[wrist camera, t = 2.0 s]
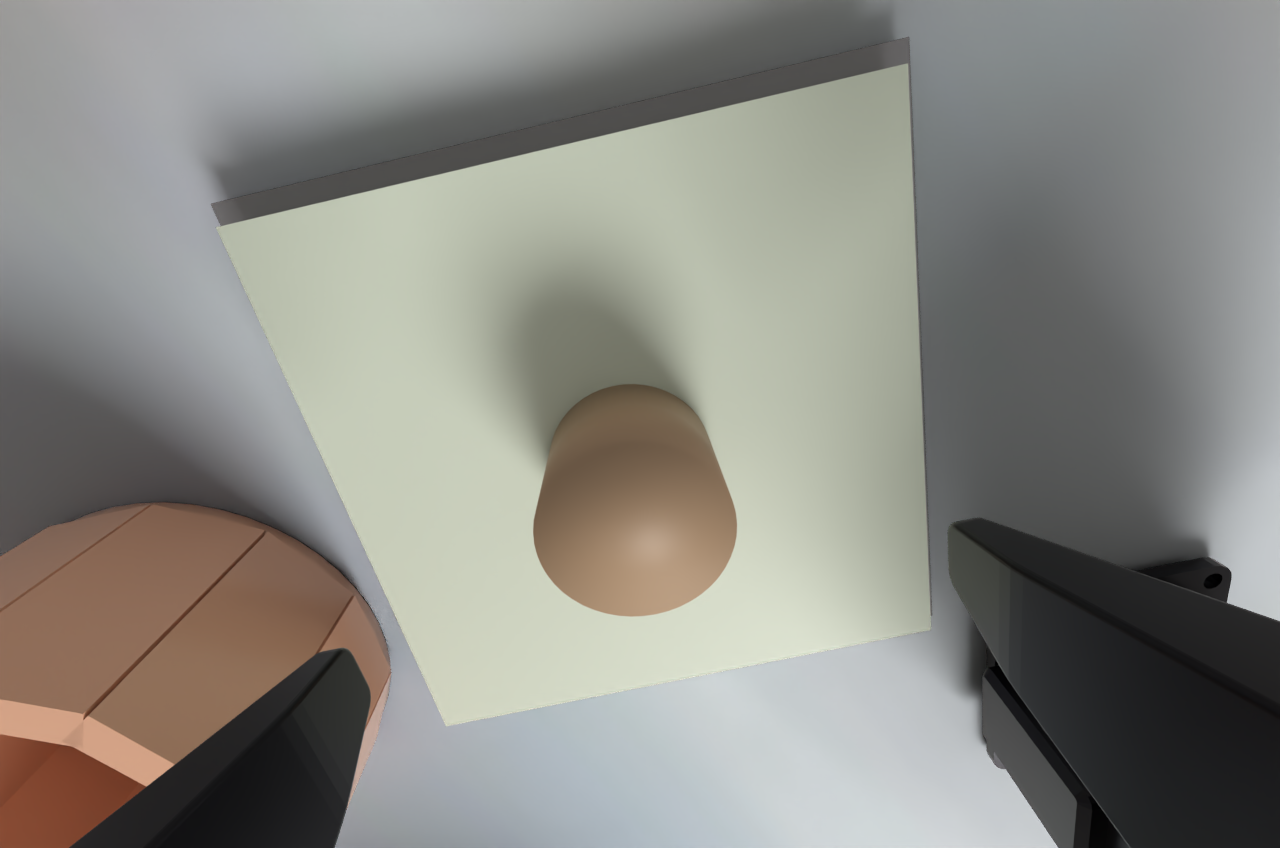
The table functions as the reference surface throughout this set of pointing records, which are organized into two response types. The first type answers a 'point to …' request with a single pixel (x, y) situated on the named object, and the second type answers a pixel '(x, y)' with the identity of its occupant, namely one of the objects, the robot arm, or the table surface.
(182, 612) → the pot
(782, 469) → the lid
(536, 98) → the table surface
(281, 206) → the mat
